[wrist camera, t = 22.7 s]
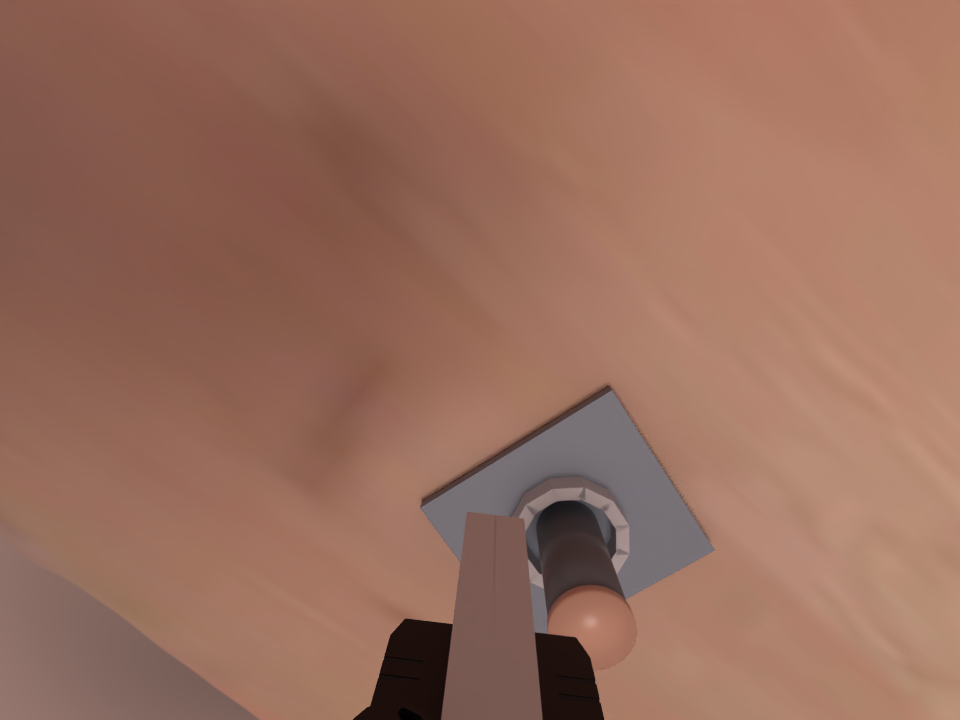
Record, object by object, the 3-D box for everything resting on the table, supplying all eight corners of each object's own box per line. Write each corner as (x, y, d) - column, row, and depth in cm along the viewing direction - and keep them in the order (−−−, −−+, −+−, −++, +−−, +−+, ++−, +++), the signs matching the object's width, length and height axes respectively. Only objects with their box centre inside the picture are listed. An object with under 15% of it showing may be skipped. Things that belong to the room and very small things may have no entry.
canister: (557, 568, 44) (577, 684, 32) (522, 519, 43) (531, 620, 32) (611, 537, 43) (653, 644, 32) (577, 487, 43) (607, 577, 31)
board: (526, 643, 47) (528, 671, 44) (422, 501, 45) (416, 520, 41) (709, 542, 44) (725, 564, 41) (608, 386, 42) (617, 397, 39)
